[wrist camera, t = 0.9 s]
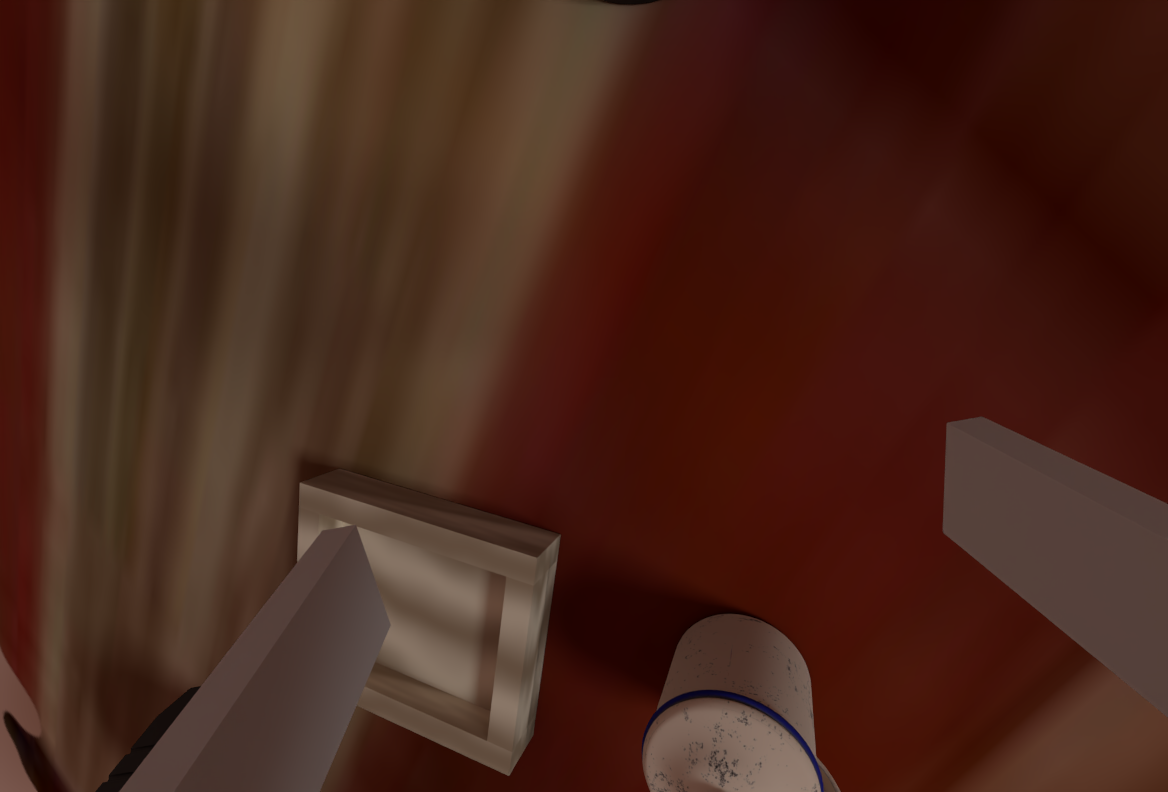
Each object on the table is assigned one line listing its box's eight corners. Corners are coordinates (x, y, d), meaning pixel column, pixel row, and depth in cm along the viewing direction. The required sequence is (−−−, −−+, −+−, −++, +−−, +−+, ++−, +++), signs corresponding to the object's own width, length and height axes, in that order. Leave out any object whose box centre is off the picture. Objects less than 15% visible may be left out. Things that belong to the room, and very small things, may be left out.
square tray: (339, 468, 45) (299, 482, 42) (560, 534, 39) (537, 557, 35) (330, 648, 49) (293, 676, 45) (532, 735, 42) (508, 775, 39)
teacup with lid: (645, 666, 38) (591, 807, 27) (726, 579, 35) (701, 698, 25) (789, 794, 36) (792, 1001, 25) (888, 712, 33) (939, 907, 22)
